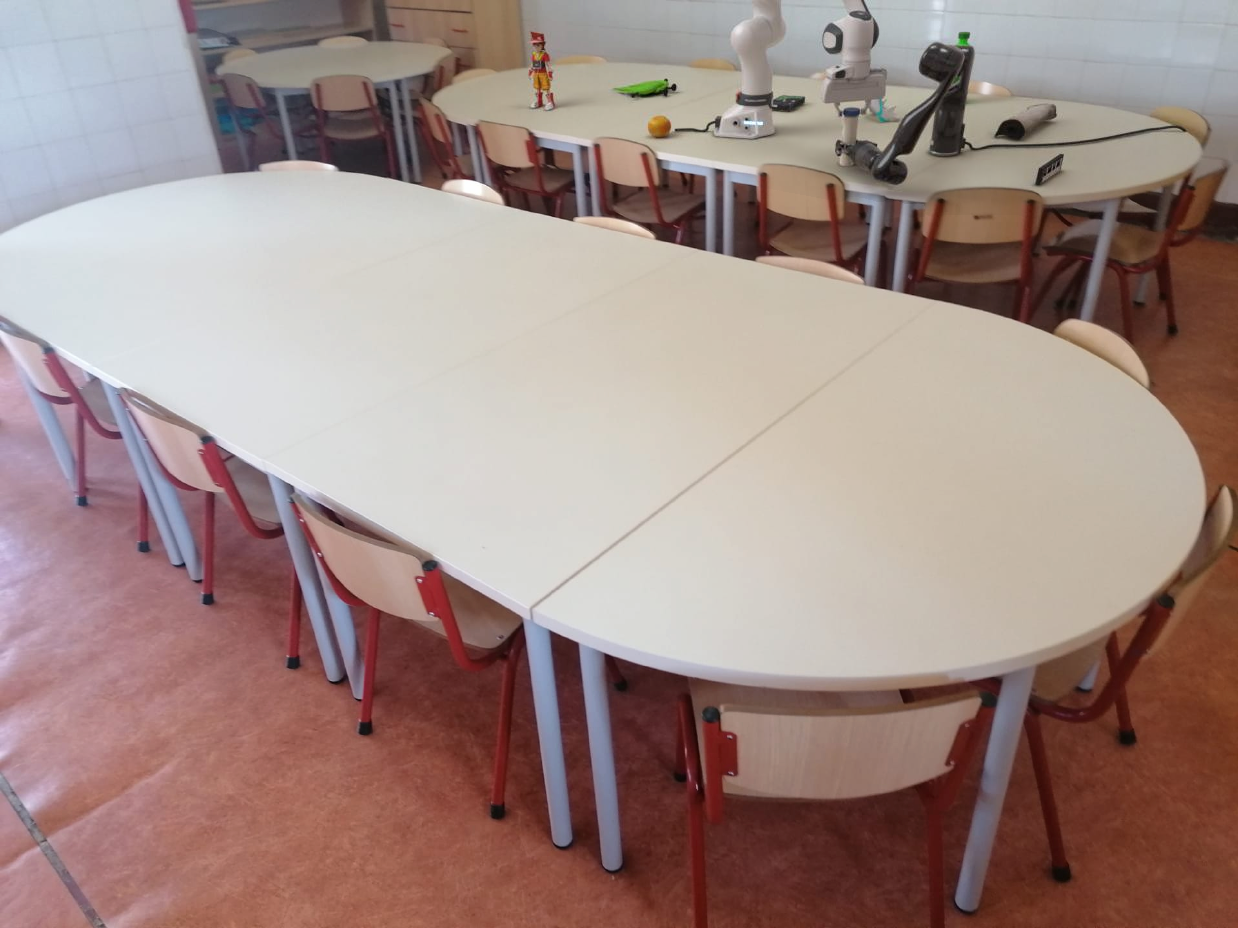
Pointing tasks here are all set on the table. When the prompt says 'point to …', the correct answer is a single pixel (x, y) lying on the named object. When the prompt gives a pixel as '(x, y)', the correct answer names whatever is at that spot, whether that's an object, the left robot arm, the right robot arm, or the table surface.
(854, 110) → the lid
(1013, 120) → the rolled mat
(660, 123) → the fruit
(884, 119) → the anatomical model
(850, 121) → the jar
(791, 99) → the disk drive
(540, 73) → the toy
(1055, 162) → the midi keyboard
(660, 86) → the toy
